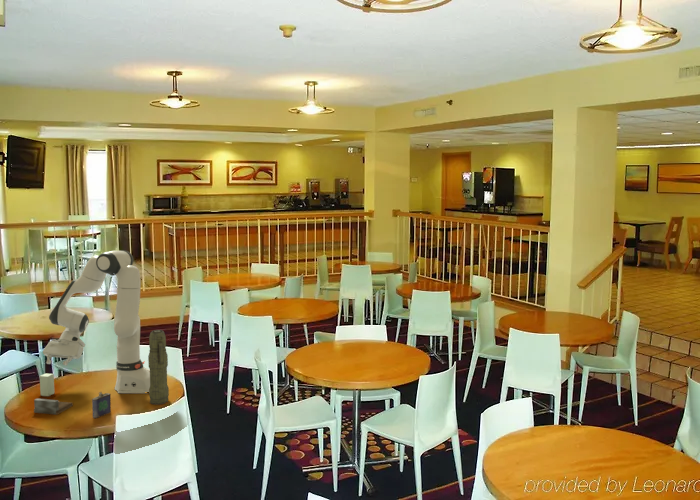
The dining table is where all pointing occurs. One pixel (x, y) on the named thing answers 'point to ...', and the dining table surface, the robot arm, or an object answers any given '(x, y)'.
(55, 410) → the display stand
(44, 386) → the cabinet block
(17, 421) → the dining table surface
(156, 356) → the stone statue
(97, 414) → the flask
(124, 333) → the robot arm
